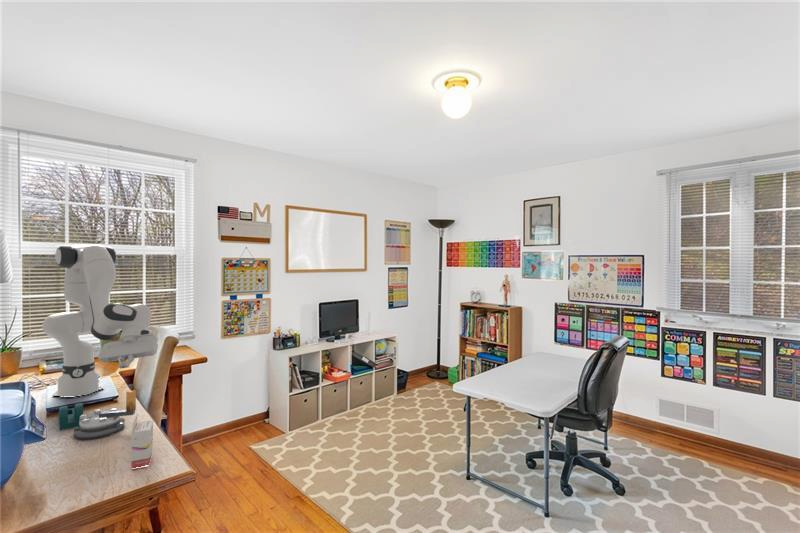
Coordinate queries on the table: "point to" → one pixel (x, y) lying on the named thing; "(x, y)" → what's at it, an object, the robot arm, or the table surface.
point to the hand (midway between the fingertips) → (123, 367)
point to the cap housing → (99, 432)
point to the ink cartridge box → (141, 443)
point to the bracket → (70, 416)
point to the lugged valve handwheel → (107, 416)
